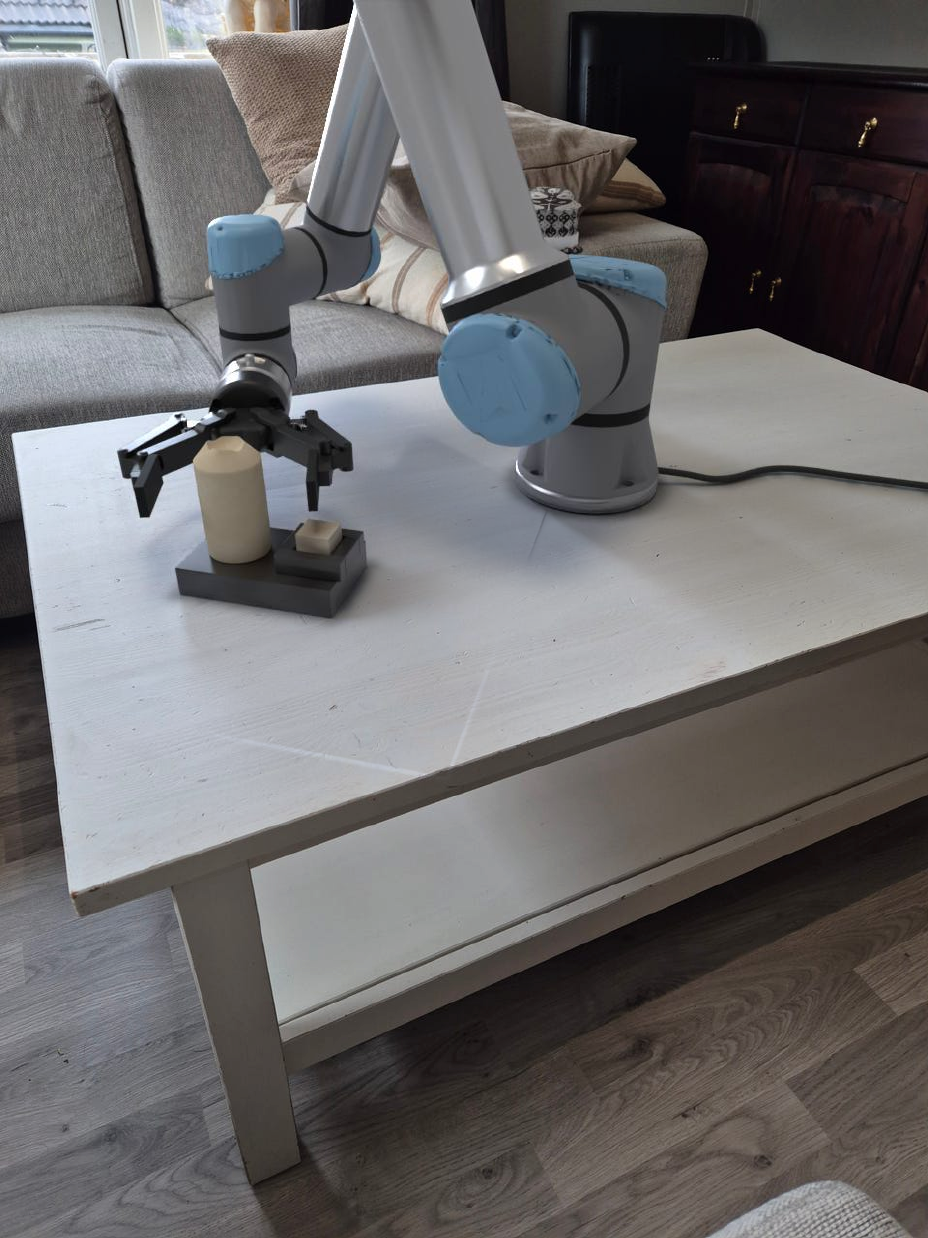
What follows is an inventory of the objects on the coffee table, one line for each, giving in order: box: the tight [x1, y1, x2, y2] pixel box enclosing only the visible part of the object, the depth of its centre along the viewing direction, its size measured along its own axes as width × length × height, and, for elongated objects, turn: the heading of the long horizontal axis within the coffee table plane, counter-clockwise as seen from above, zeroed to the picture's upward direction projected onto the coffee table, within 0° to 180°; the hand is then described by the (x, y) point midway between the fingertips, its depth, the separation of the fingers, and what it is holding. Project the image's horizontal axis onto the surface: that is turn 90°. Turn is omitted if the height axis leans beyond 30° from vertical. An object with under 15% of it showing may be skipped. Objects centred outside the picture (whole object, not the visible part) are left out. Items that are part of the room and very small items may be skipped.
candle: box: [192, 436, 271, 563], centre depth 75 cm, size 6×6×10 cm
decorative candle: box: [528, 186, 584, 255], centre depth 112 cm, size 9×9×25 cm
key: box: [295, 518, 342, 556], centre depth 75 cm, size 3×3×2 cm
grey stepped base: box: [174, 522, 368, 619], centre depth 78 cm, size 14×9×4 cm, turn 76°
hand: (227, 499), depth 72 cm, fingers open, 13 cm apart
